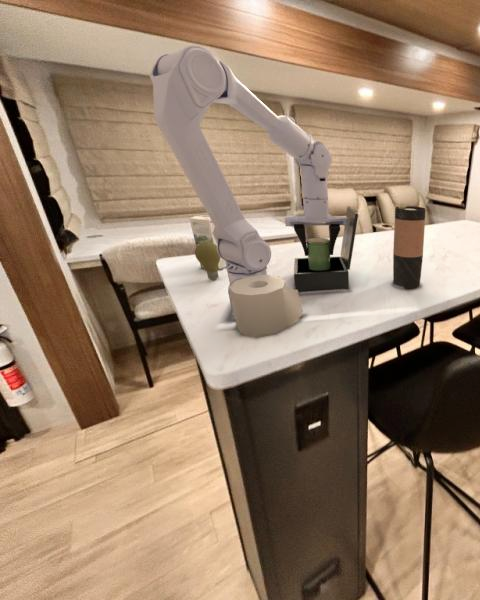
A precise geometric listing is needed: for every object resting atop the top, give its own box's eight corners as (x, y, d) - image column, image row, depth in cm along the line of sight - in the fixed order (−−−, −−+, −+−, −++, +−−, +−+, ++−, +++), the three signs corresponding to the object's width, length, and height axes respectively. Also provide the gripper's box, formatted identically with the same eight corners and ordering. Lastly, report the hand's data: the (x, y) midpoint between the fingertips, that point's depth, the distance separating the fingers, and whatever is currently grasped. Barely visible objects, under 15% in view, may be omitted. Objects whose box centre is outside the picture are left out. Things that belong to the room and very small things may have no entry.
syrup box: (231, 264, 93) (222, 215, 87) (219, 270, 88) (208, 218, 82) (213, 263, 94) (203, 214, 88) (200, 269, 88) (188, 217, 82)
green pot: (332, 270, 78) (330, 242, 75) (308, 271, 76) (306, 243, 73) (330, 263, 83) (328, 237, 80) (308, 264, 81) (306, 238, 78)
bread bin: (296, 295, 74) (293, 274, 71) (296, 276, 85) (294, 258, 83) (348, 291, 77) (348, 271, 75) (342, 274, 89) (341, 256, 87)
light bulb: (196, 280, 80) (187, 242, 76) (217, 275, 84) (209, 238, 80) (210, 285, 77) (201, 245, 73) (230, 278, 82) (223, 241, 78)
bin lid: (355, 213, 70) (358, 214, 70) (347, 206, 82) (349, 206, 82) (346, 269, 75) (349, 269, 75) (340, 254, 87) (342, 255, 87)
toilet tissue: (313, 314, 65) (310, 276, 61) (259, 343, 54) (252, 299, 51) (282, 302, 69) (278, 266, 65) (227, 328, 58) (217, 286, 54)
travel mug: (418, 291, 79) (423, 210, 71) (389, 288, 80) (391, 208, 72) (422, 281, 86) (427, 207, 78) (395, 278, 87) (398, 205, 79)
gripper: (344, 197, 78) (345, 249, 84) (283, 196, 74) (289, 251, 80) (348, 200, 72) (349, 256, 77) (282, 199, 68) (288, 258, 73)
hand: (319, 254), depth 78 cm, fingers closed on green pot, 5 cm apart
